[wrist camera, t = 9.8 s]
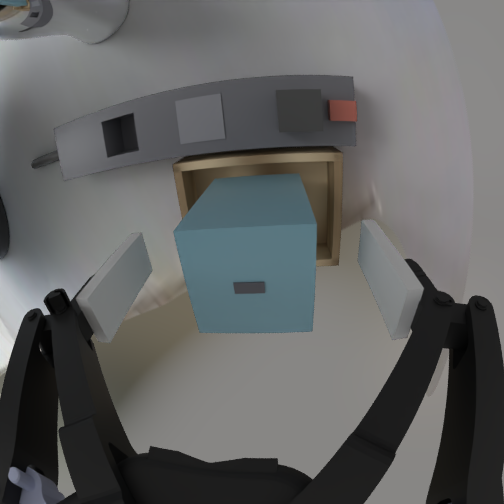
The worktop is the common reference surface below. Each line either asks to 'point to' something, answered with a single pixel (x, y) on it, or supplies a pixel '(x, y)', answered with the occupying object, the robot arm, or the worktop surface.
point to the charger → (250, 255)
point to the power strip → (209, 122)
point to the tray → (276, 162)
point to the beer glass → (61, 19)
